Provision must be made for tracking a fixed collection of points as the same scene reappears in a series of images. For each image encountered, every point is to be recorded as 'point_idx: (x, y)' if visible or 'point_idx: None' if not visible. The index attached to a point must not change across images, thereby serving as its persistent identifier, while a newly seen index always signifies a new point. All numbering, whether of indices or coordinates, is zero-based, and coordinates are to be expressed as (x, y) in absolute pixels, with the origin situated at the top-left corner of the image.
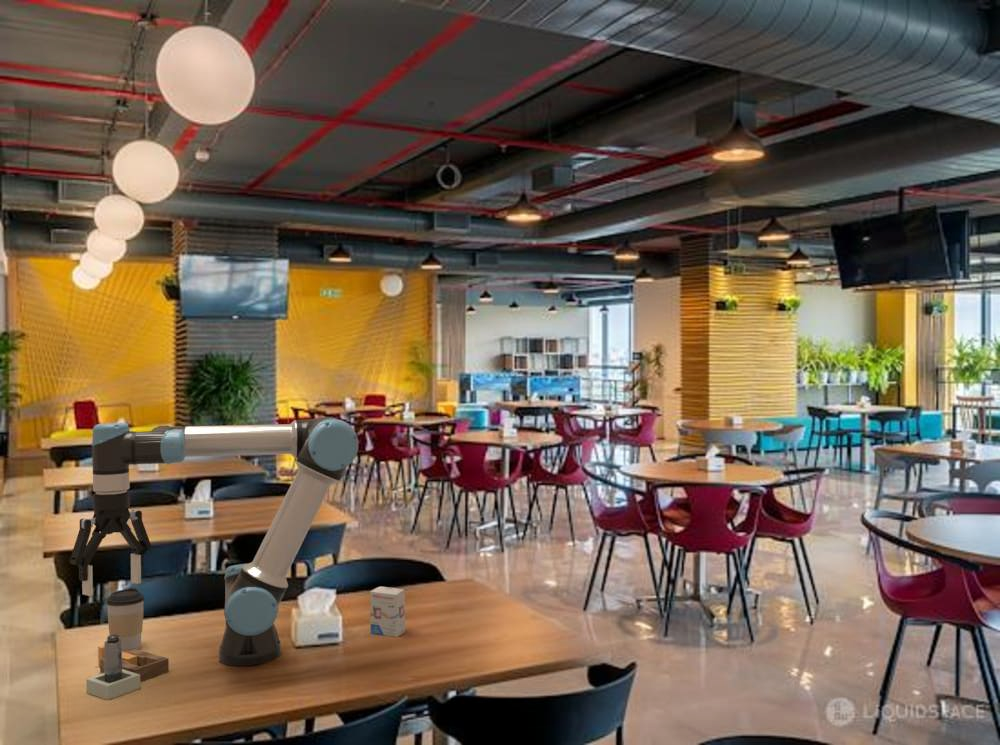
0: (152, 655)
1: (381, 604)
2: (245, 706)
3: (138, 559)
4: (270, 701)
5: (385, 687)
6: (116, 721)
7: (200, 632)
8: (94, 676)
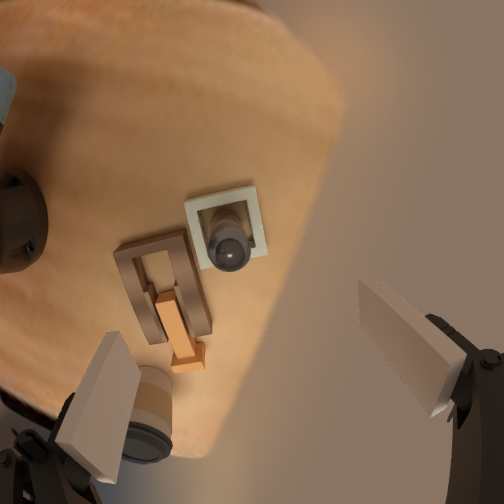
0: (131, 290)
1: None
2: (113, 16)
3: (75, 422)
4: (83, 17)
5: (2, 10)
6: (278, 85)
7: (54, 364)
8: (252, 257)
